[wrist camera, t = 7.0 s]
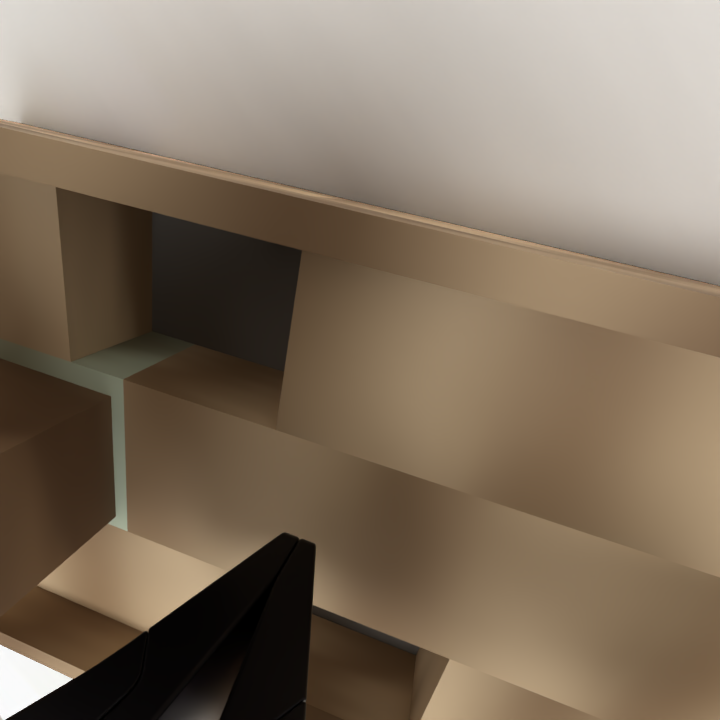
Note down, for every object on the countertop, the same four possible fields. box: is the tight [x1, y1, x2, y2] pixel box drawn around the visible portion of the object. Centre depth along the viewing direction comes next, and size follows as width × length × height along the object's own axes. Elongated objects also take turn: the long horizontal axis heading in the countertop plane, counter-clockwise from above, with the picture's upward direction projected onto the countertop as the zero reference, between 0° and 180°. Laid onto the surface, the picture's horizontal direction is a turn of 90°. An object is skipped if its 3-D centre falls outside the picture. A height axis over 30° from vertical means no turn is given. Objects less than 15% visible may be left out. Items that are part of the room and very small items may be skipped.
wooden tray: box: [0, 119, 720, 720], centre depth 10 cm, size 22×15×6 cm
